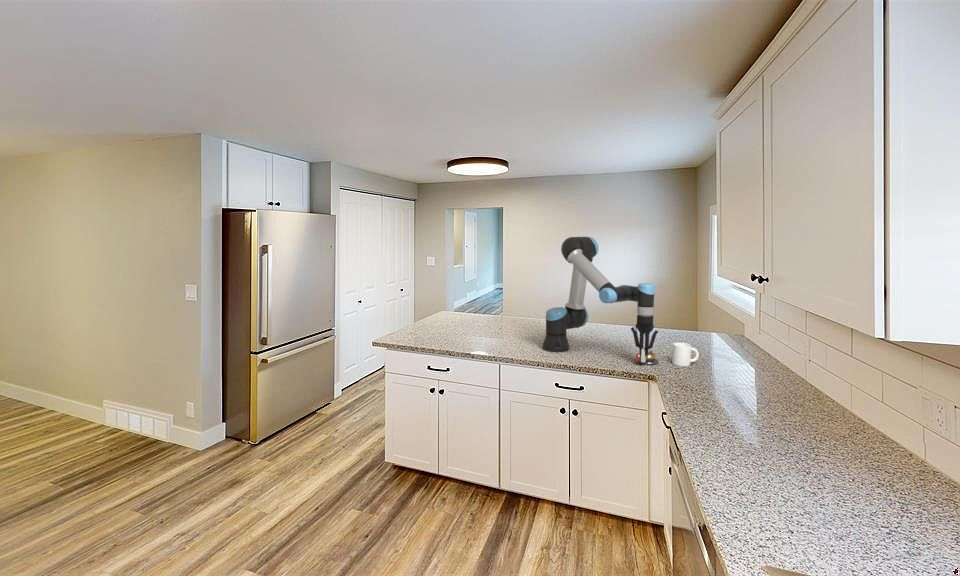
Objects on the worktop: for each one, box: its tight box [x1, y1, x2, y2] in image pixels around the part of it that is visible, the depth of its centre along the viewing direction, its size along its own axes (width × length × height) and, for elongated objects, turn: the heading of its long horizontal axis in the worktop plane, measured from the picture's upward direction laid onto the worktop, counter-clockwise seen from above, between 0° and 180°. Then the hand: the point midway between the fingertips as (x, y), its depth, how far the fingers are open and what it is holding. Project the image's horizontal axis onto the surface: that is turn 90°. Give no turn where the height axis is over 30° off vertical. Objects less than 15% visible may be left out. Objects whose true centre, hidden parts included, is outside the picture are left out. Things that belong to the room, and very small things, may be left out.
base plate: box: [638, 358, 659, 366], centre depth 213 cm, size 10×10×1 cm
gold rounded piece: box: [635, 350, 656, 364], centre depth 212 cm, size 12×7×4 cm, turn 122°
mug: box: [671, 342, 700, 368], centre depth 208 cm, size 12×8×10 cm
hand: (643, 361), depth 207 cm, fingers closed
